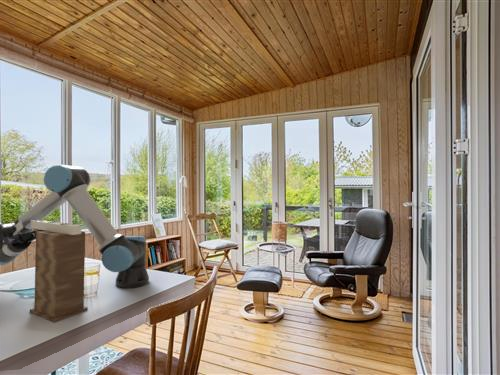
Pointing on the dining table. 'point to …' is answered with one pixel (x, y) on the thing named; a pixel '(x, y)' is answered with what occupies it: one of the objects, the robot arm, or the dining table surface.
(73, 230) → the domino bar
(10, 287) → the dining table surface
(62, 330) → the dining table surface
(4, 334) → the dining table surface
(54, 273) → the walnut post
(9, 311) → the dining table surface
